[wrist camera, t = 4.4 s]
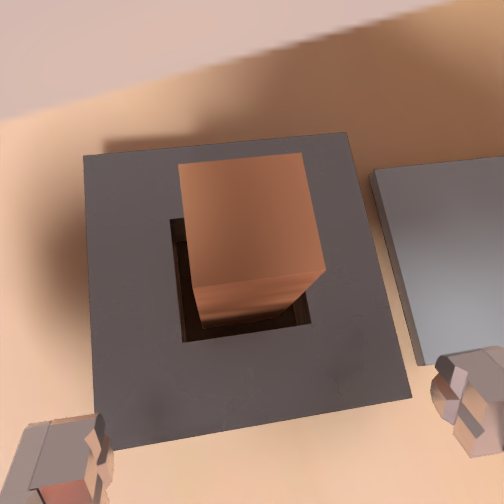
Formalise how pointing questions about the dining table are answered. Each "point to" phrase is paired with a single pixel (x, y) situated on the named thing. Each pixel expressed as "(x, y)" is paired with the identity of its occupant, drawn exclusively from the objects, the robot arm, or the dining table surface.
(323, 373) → the collar block
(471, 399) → the robot arm
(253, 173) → the peg
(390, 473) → the dining table surface
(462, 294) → the mat
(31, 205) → the dining table surface
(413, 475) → the dining table surface
